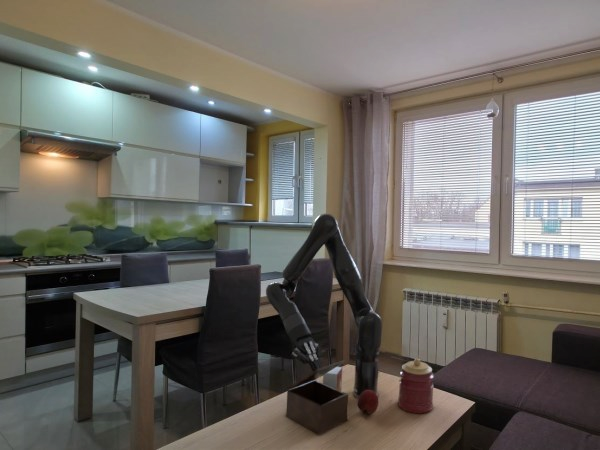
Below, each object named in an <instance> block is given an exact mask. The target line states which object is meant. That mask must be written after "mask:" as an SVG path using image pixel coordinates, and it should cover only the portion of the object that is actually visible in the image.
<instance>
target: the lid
mask: <svg viewBox="0 0 600 450" xmlns="http://www.w3.org/2000/svg"><path fill="white" fill-rule="evenodd" d="M345 362H346V361H345V359H342V360H340V361H337V362H334V363H332V364H328V365H325V366H321V368H319V369H317V370H315V371H312V372H310V373H308V374H307V375H305V376H304V377H301V379H299V380H297V381H295V382H294V383H292V384H291V385H289V386H288V387H286V388H287V390H290V389H292V388H295V387H298V386H300V385H303V384H306V383H308V382H311V381H314V380H316V381H317V380H318V379H319V378H321V377H323V375H324V374H326V373H327V372H329V371H331V370H332V369H334V368H336V367H340V366H341V365H343V364H344V363H345Z"/></svg>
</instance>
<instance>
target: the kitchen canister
mask: <svg viewBox="0 0 600 450" xmlns="http://www.w3.org/2000/svg"><path fill="white" fill-rule="evenodd" d="M399 376H400V379H399V381H398V382H399V383H398V384H399V385H398V387H399V388H398V397H397V398H398V400H397V401H398V406H399V407H400V408H401V409H402V410H404V411H406V412H407V413H408V412H409V413H412V414H424V413H428V412H430V411H431V410H432V408H433V405H434V397H433V396H434V386H435V385H434V383H433V380H434V378H435V374H434V373H433V368H432V367H431V365H429V364H428V363H426V362H424V361H421V359H420V358H415V359H414V360H410V361H407V362H406V363H404V364H402V366H401V369H400V371H399Z"/></svg>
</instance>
